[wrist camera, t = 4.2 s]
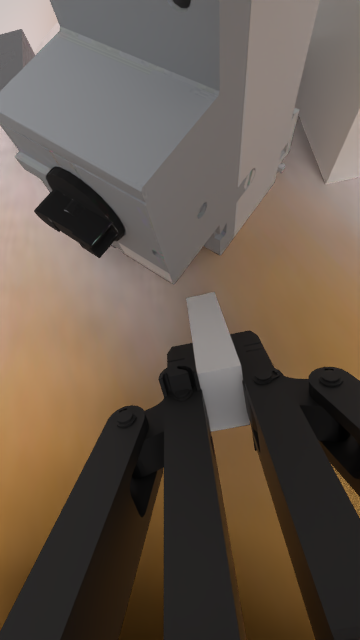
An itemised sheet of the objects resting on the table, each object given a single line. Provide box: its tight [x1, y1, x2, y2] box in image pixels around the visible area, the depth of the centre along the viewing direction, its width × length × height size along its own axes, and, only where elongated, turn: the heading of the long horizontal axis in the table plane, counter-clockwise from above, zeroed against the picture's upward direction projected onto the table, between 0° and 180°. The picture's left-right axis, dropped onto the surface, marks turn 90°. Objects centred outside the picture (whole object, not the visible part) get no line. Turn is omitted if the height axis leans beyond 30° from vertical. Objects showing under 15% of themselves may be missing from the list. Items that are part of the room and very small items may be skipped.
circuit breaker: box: [0, 0, 320, 284], centre depth 16 cm, size 8×14×15 cm, turn 144°
